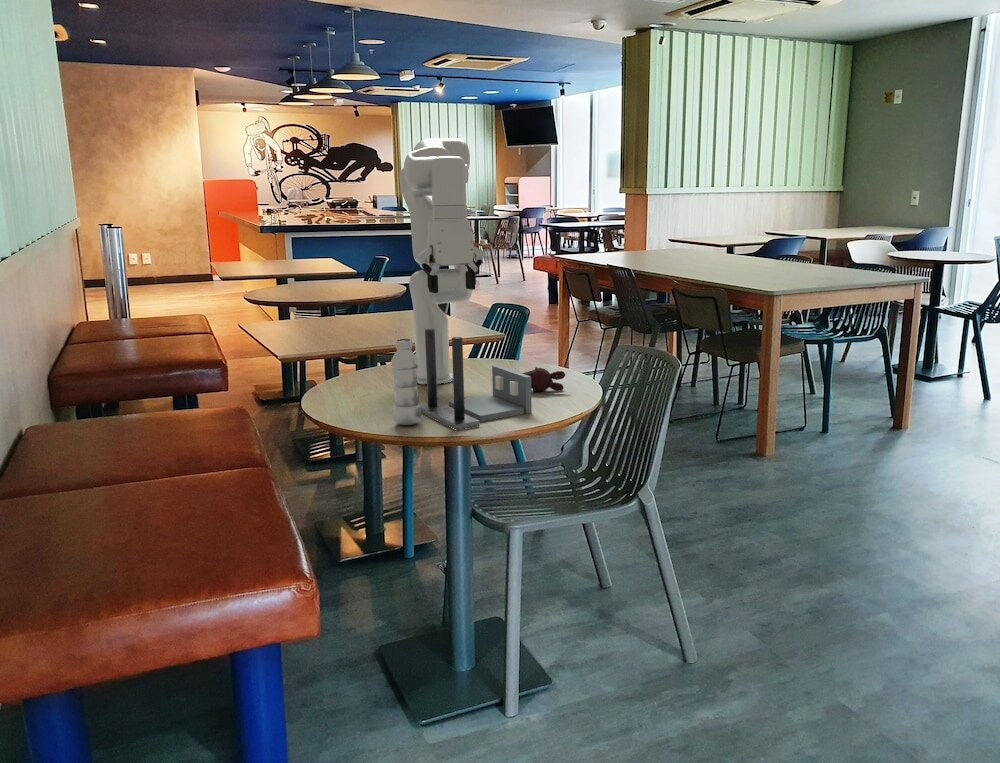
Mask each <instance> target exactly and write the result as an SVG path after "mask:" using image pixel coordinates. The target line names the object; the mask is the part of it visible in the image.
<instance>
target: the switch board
mask: <svg viewBox="0 0 1000 763" xmlns="http://www.w3.org/2000/svg"><path fill="white" fill-rule="evenodd" d="M522 373H523V372H519V371H516V370H513V369H511V368H507V367H505V366H504V367H503V366H501V365H498V364H496V365H491V374H492V375H491V377H492V384H491V385H492V394H486V395H480V396H474V397H468V398H464V409H465V414H466V415H468V416H470V417H473V418H475V419H477V420H479V423H482V422H487V420H489V421H492V420H491V419H494V420H497V419H496V418H500V419H503V418H502V417H505V418H508V417H507V416H510V417H513V416H512V415H516V416H519V414H521V415H524V414H526V413H527V414H530V413H529V412H532V411H533V410H532V409H533V408H532V388H531V376H528V375H525V374H522ZM448 406H449V407H451V408H453V409H454V400H450V401H448ZM524 412H525V413H524ZM532 413H533V412H532Z"/></svg>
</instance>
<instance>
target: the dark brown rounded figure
mask: <svg viewBox="0 0 1000 763" xmlns="http://www.w3.org/2000/svg"><path fill="white" fill-rule="evenodd" d="M521 373H522V374H525V375H528V376H531V390H533V393H535V392H537V391H538V393H539V391H541V392H544V391H546V390H548V389H551V390H554V391H556V390H561V391H563V390H564V385H563V384H562V383H559V382H555V381H553V380H556V381H557V380H563V379H564V378H565V377H566V373H565V372H564V371H562V370H558V371H553V372H552V373H550V372H549V371H548V370H547V369H546V368H543V367H538V366H535V367H534V369H532V370H529V371H525V372H521Z"/></svg>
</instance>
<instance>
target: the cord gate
mask: <svg viewBox="0 0 1000 763" xmlns="http://www.w3.org/2000/svg"><path fill="white" fill-rule="evenodd" d="M463 345H464V344H463V337H461V336H453V337H451V350H452V351H451V353H452V354H451V356H452V373H453V381H452V383H453V385H452V388H453V401H454V409H453V408H451V407H449V405H447V404H444V403H443V402H441V401H439V400H438V384H437V375H436V348H435V329H425V347H426V372H427V385H426V389H427V390H426V392H427V393H426V394H427V396H426V397H427V401H426V402H425V401H424V402H419V404H420V408H421V412H422V413H421V414H423V415H424V414H426V415H428V416H430V417H432V418H434V419H436V420H438V421H440V422H442V423H444V424H446V425H448V426H450V427H452V428H454V429H456V430H459V429H464V430H466V429H465V428H469V429H473V428H472V427H475V428H478V427H477V426H480V421H479V420H477V419H475V418H473V417H470V416H468V415H466V414H465V409H464V399H465V385H464V384H465V383H464V382H465V381H464V380H465V379H464V351H463V350H464V349H463V348H464V346H463ZM426 415H425V416H426ZM428 416H427V417H428ZM430 417H429V418H430ZM432 418H431V419H432ZM434 419H433V420H434ZM436 420H435V421H436ZM438 421H437V422H438ZM440 422H439V423H440ZM442 423H441V424H442ZM444 424H443V425H444ZM446 425H445V426H446ZM448 426H447V427H448ZM450 427H449V428H450ZM452 428H451V429H452ZM454 429H453V430H454ZM456 430H455V431H456ZM459 431H460V430H459Z"/></svg>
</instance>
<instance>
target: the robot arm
mask: <svg viewBox="0 0 1000 763" xmlns="http://www.w3.org/2000/svg"><path fill="white" fill-rule="evenodd" d="M404 159H405V160H404V162H403V168H401V170H400V172H399V185H400V189H401V194H402V197H403V200H404V203H405V204H406V206H407V209H408V212H409V216H410V228H411V229H410V233H411V243H412V244H411V246H412V248H411V249H412V255H413V259H414V260H415V262H416V263H417V264H418V265H419V268H420V269H421V270H417V271H415V272H414V273H412V275H411V276H410V277H409V291H410V297H411V302H412V310H413V320H414V322H413V323H414V326H413V327H414V343H415V355H416V357H417V359H418V362H419V366H418V377H417V383H418V384H419V385H425V384H427V372H426V347H425V329H435V348H436V375H437V385H442V384H441V383H444V384H448V382H449V383H451V381H452V382H453V372H450V371H451V368H450V342H449V338H450V336H449V320H448V316H447V315H446V313H445V312H444V311H443V309H441V307H439V305H440V304H451V303H452V304H455V303H457V304H458V303H464V302H467V301H469V300H470V299H471V297H472V294H473V290H476V285H477V279H476V278H477V272H478V270H479V267H480V266H482V264H483V260H484V258H485V255H486V251H484V250H482V249H480V248H479V247H477V246H475V245H474V238H473V232H472V231H473V230H472V227H471V226H472V225H471V223H470V220H469V219H468V215H470V214H472V208H469V207H468V205H467V184H468V182H469V175H470V174H469V169H470V161H471V155H470V149H469V146H468V143H466V142H465V140H463V139H462V138H451V137H448V138H447V137H446V138H442V137H441V138H439V137H438V138H433V137H432V138H425V139H422V140H420V141H418V142H417V143H416V145H415V146H414V148H413V150H412V151H410V152H408V153H407V155H406V156H405V158H404ZM429 196H431V198H430V197H429ZM474 256H476V257H475V259H474ZM447 266H448V267H449V266H453V267H454V268H442V269H441V268H440V267H447ZM418 384H417V385H418Z"/></svg>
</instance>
